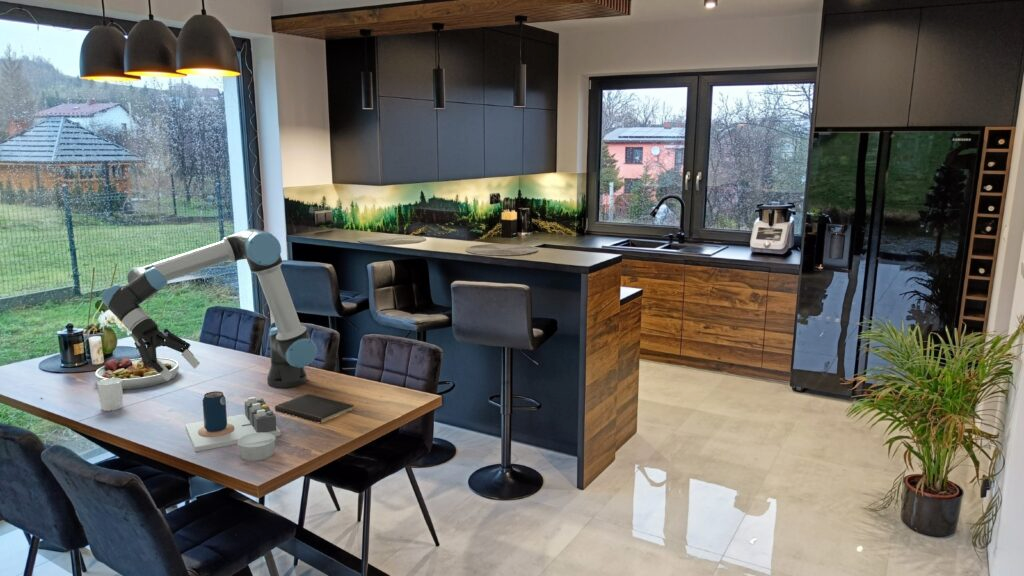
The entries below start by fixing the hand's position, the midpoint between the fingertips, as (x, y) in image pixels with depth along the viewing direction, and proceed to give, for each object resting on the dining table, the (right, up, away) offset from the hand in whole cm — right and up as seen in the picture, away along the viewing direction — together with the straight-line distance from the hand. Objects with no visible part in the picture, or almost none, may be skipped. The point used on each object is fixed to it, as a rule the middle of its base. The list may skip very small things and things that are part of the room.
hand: (184, 371), depth 239 cm
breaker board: (+16, -20, +1) cm, 25 cm away
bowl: (-43, -10, +54) cm, 70 cm away
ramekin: (+30, -24, -17) cm, 42 cm away
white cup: (-36, -16, +22) cm, 45 cm away
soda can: (+11, -19, -2) cm, 22 cm away
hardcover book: (+37, -17, +22) cm, 46 cm away
